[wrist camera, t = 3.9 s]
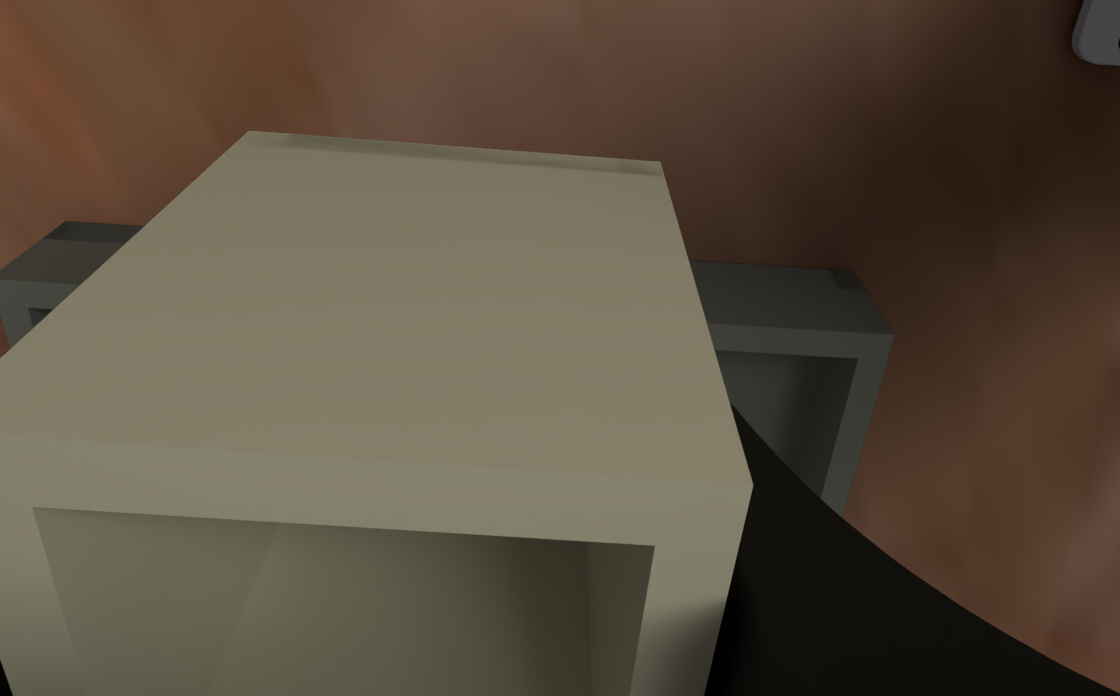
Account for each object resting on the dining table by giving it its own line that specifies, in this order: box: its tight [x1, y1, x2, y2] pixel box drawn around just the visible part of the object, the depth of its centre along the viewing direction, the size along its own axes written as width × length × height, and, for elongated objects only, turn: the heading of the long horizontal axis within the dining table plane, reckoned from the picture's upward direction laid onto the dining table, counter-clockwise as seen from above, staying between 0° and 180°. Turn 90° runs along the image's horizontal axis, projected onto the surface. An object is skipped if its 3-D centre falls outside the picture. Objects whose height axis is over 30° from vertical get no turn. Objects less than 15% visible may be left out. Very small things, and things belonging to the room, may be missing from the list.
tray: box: [0, 221, 895, 517], centre depth 23 cm, size 18×16×3 cm
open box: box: [0, 131, 753, 696], centre depth 10 cm, size 6×6×7 cm
